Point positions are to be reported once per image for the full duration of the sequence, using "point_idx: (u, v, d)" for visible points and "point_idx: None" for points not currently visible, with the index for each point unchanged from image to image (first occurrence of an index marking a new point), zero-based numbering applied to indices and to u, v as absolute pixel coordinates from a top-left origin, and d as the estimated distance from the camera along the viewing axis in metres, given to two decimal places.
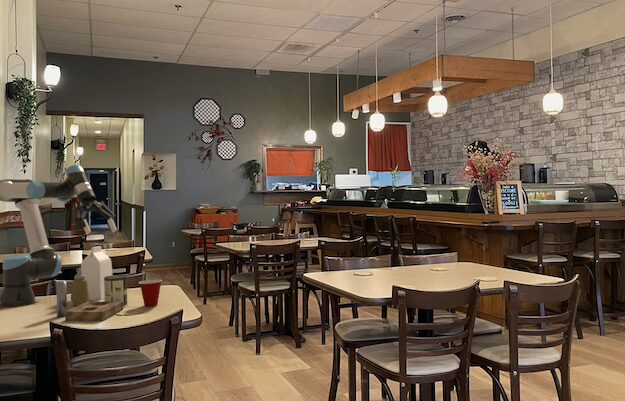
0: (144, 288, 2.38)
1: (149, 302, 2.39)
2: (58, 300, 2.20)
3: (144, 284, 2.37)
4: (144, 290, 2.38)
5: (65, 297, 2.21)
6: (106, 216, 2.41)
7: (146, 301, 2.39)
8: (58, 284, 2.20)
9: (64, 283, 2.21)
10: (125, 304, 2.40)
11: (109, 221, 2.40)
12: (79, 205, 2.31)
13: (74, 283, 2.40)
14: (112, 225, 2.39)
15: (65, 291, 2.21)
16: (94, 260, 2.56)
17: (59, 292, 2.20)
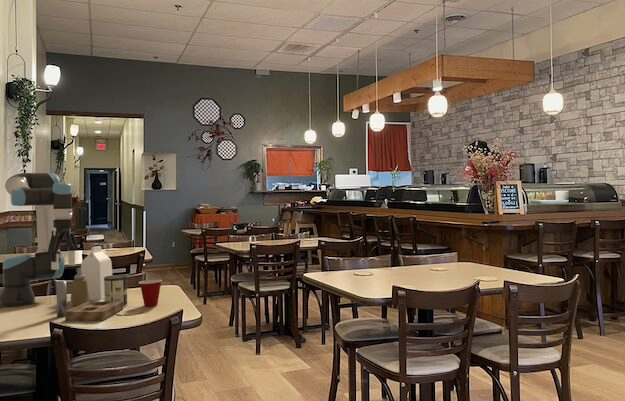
0: (144, 288, 2.38)
1: (149, 302, 2.39)
2: (58, 300, 2.20)
3: (144, 284, 2.37)
4: (144, 290, 2.38)
5: (65, 297, 2.21)
6: (70, 246, 2.28)
7: (146, 301, 2.39)
8: (58, 284, 2.20)
9: (64, 283, 2.21)
10: (125, 304, 2.40)
11: (70, 253, 2.29)
12: (57, 236, 2.16)
13: (74, 283, 2.40)
14: (72, 259, 2.29)
15: (65, 291, 2.21)
16: (93, 260, 2.56)
17: (59, 292, 2.20)
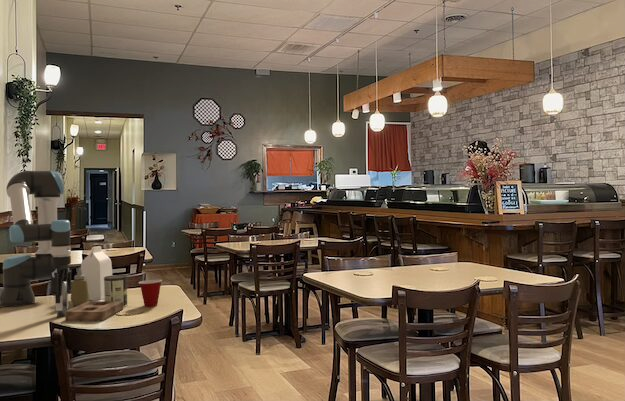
0: (144, 288, 2.38)
1: (149, 302, 2.39)
2: None
3: (144, 284, 2.37)
4: (144, 290, 2.38)
5: (65, 296, 2.21)
6: None
7: (146, 301, 2.39)
8: None
9: (64, 283, 2.21)
10: (125, 304, 2.40)
11: None
12: (57, 277, 2.16)
13: (74, 283, 2.40)
14: None
15: (65, 291, 2.21)
16: (94, 260, 2.56)
17: None
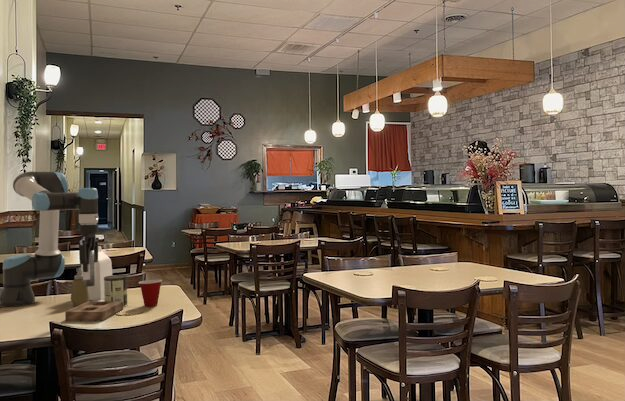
0: (144, 288, 2.38)
1: (149, 302, 2.39)
2: None
3: (144, 284, 2.37)
4: (144, 290, 2.38)
5: (92, 265, 2.17)
6: None
7: (146, 301, 2.39)
8: None
9: (92, 252, 2.16)
10: (125, 304, 2.40)
11: None
12: (85, 245, 2.12)
13: (74, 283, 2.40)
14: None
15: (93, 260, 2.17)
16: None
17: None
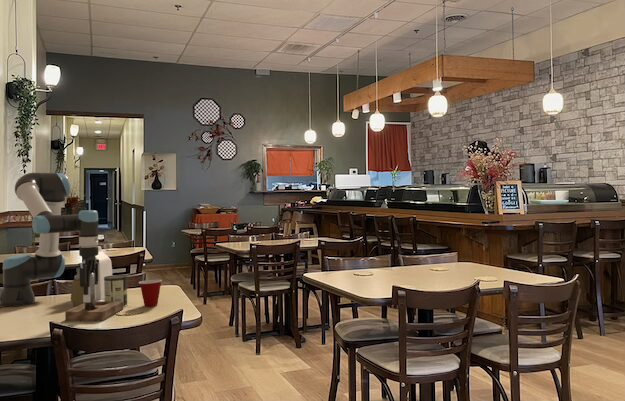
0: (144, 288, 2.38)
1: (149, 302, 2.39)
2: None
3: (144, 284, 2.37)
4: (144, 290, 2.38)
5: (93, 288, 2.17)
6: None
7: (146, 301, 2.39)
8: None
9: (92, 274, 2.17)
10: (125, 304, 2.40)
11: None
12: (85, 268, 2.12)
13: (74, 283, 2.40)
14: None
15: (93, 282, 2.17)
16: None
17: None
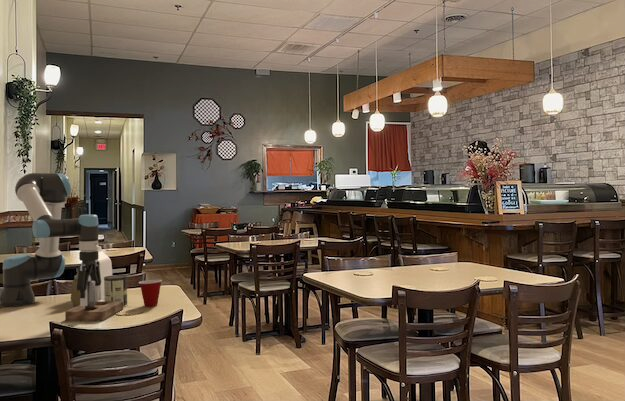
0: (144, 288, 2.38)
1: (149, 302, 2.39)
2: None
3: (144, 284, 2.37)
4: (144, 290, 2.38)
5: (93, 296, 2.17)
6: None
7: (146, 301, 2.39)
8: (87, 284, 2.15)
9: (93, 283, 2.16)
10: (125, 304, 2.40)
11: None
12: (84, 271, 2.12)
13: (74, 283, 2.40)
14: (95, 294, 2.22)
15: (94, 291, 2.17)
16: None
17: (87, 292, 2.16)
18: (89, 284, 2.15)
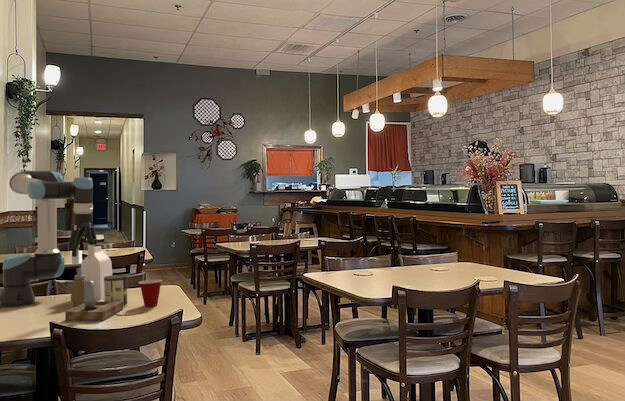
0: (144, 288, 2.38)
1: (149, 302, 2.39)
2: (86, 300, 2.16)
3: (144, 284, 2.37)
4: (144, 290, 2.38)
5: (93, 296, 2.17)
6: (90, 241, 2.27)
7: (146, 301, 2.39)
8: (86, 284, 2.16)
9: (92, 283, 2.17)
10: (125, 304, 2.40)
11: (90, 247, 2.28)
12: (78, 230, 2.15)
13: (74, 283, 2.40)
14: (92, 253, 2.28)
15: (93, 291, 2.17)
16: (94, 260, 2.56)
17: (86, 292, 2.16)
18: (88, 284, 2.16)
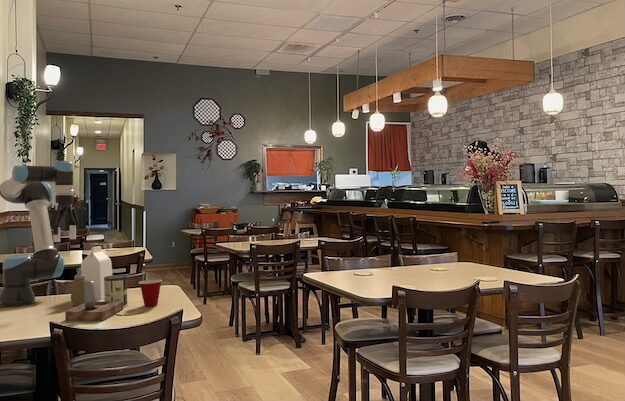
0: (144, 288, 2.38)
1: (149, 302, 2.39)
2: (86, 300, 2.16)
3: (144, 284, 2.37)
4: (144, 290, 2.38)
5: (93, 296, 2.17)
6: (71, 221, 2.41)
7: (146, 301, 2.39)
8: (86, 284, 2.16)
9: (92, 283, 2.17)
10: (125, 304, 2.40)
11: (71, 227, 2.42)
12: (59, 210, 2.29)
13: (74, 283, 2.40)
14: (73, 233, 2.42)
15: (93, 291, 2.17)
16: (93, 260, 2.56)
17: (87, 292, 2.16)
18: (88, 284, 2.16)
